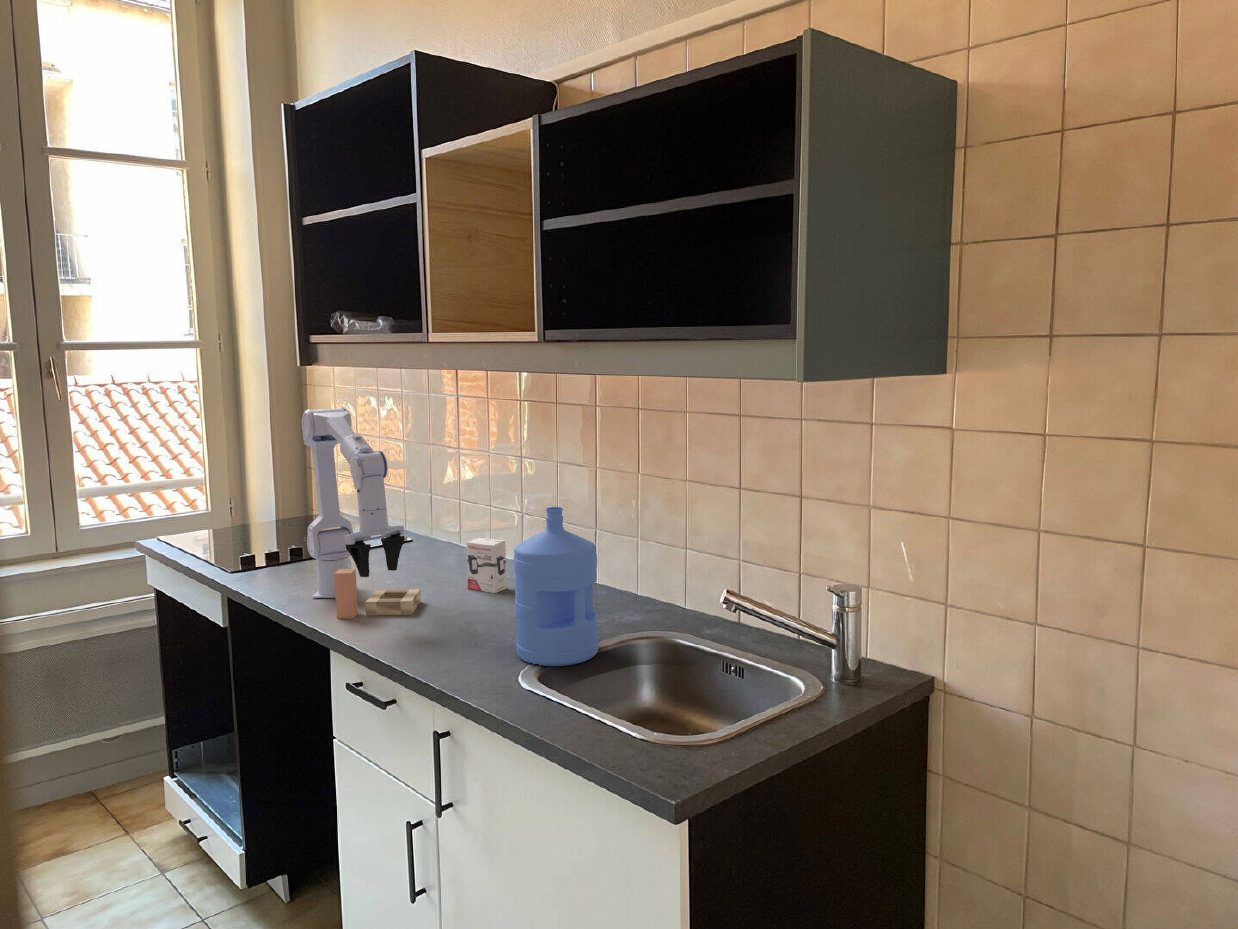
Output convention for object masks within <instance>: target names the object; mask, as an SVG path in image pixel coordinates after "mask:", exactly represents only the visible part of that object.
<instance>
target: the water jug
mask: <svg viewBox="0 0 1238 929" xmlns="http://www.w3.org/2000/svg"><path fill="white" fill-rule="evenodd" d="M563 510H564V509H563V507H560V506H551V507H546V508H545V511H546V517H545V521H546V528H545V529H544V530H543V531H541V532H539V533H537V534H535V535H533V536H531V537H529V538H527V539H525V540H523V541H521V542H519V543H518V544H517V545H516V546H514V549H513V553H514V554H513V570H514V592H515V593H514V594H515V599H514V612H515V619H516V620H515V621H516V622H515V623H516V624H515V625H516V626H515V627H516V628H515V629H516V641H515V651H516V655H517V656H518V657H519V658H520V659H521V660H522V661H524V662H525V663H528V664H531V663H532V665H535V664H539V665H538V666H542V665H543V667H564V666H566V667H567V666H573V665H578V664H581V663H584V662H588V661H589V660H591V659H592V658H594V657H595V656H596V654H597V653H598V651H599V648H600V646H599V645H600V644H599V636H598V635H599V633H598V628H599V627H598V624H599V623H598V616H597V613H596V611H595V609H594V588H593V587H594V584H595V583H596V582H597V580H598V579H597V578H598V576H597V570H598V569H597V568H598V555H597V547H596V544H595V543H594V542H592V541H591V540H588V539H586V538H585V537H582V536H580V535H577V534H574V533H572V532H570V531H568V530H566V529H565V528H564V523H563V521H564V516H563Z"/></svg>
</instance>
